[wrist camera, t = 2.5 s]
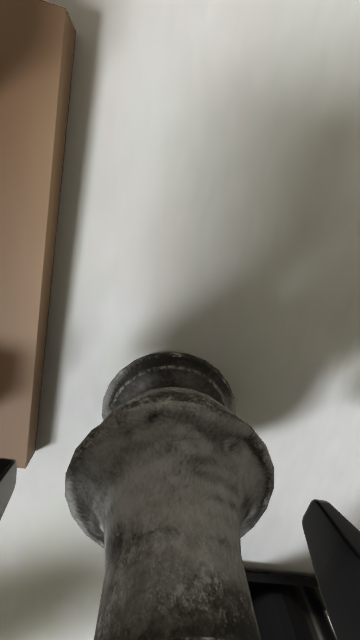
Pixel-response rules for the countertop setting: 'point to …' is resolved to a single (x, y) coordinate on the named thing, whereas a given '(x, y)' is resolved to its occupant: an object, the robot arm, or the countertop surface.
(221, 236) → the countertop surface
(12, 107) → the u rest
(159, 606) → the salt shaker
